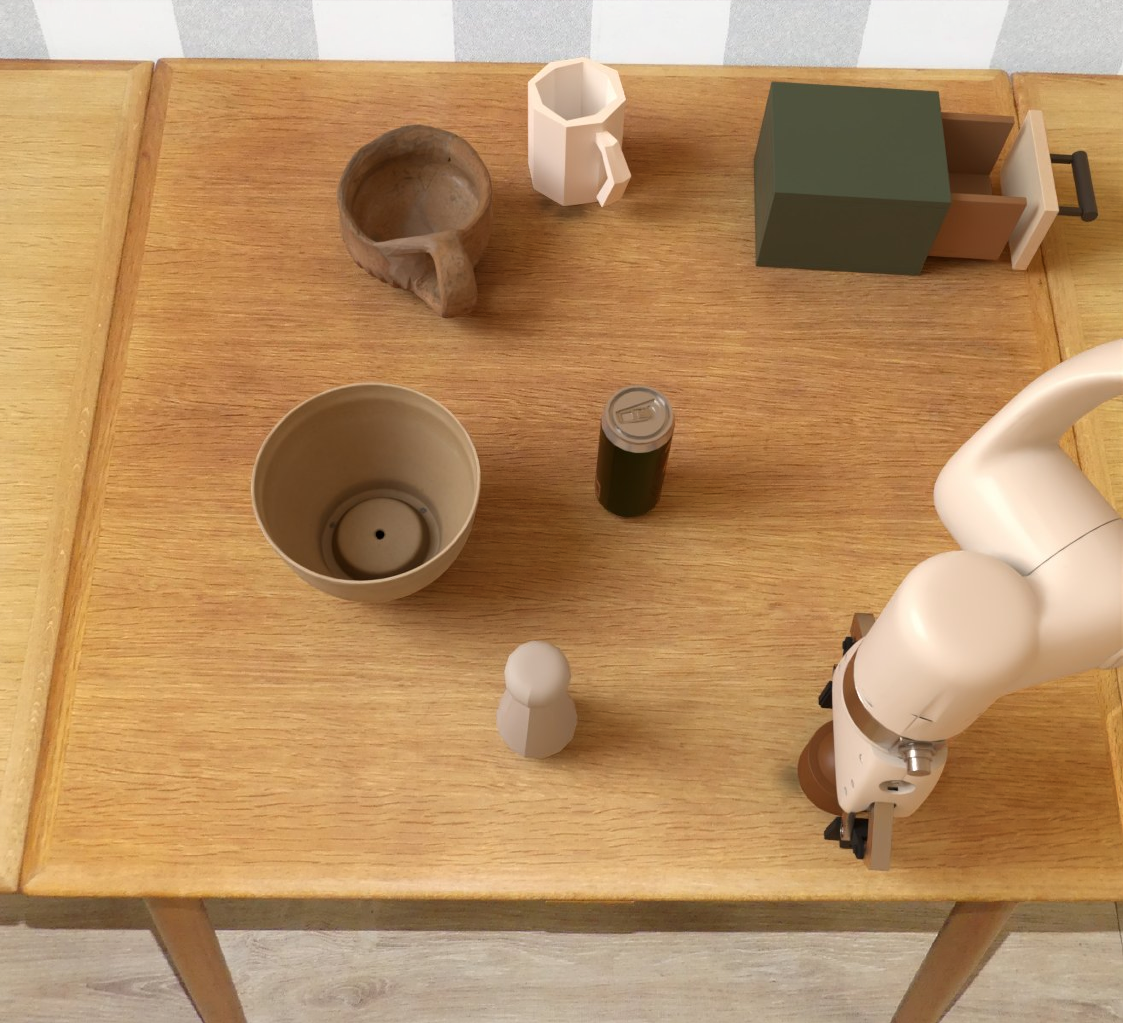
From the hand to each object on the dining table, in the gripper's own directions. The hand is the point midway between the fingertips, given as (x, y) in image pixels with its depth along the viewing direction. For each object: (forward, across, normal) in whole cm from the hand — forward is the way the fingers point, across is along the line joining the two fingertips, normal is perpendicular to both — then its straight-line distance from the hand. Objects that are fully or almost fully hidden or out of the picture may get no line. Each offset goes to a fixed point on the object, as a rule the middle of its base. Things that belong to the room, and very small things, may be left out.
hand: (842, 768), depth 87 cm
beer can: (+2, +22, +16) cm, 27 cm away
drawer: (0, +52, -14) cm, 54 cm away
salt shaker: (+2, +2, +22) cm, 22 cm away
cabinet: (+1, +52, -2) cm, 52 cm away
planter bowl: (+2, +16, +35) cm, 38 cm away
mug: (+2, +54, +21) cm, 58 cm away
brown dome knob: (+1, 0, 0) cm, 1 cm away
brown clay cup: (+2, +44, +34) cm, 56 cm away
